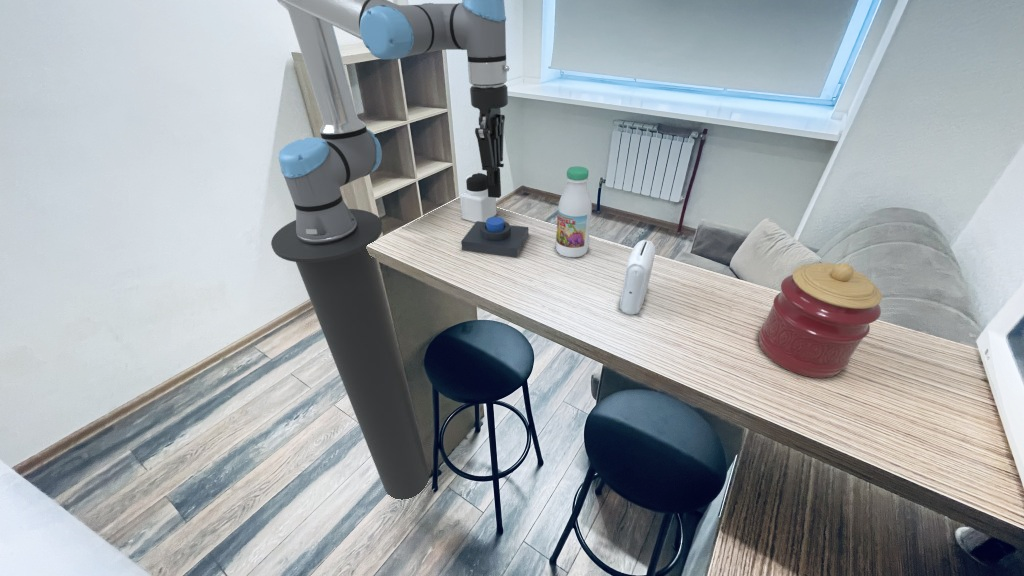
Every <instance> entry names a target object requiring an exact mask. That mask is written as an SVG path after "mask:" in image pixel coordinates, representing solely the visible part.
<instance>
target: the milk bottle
mask: <svg viewBox="0 0 1024 576" xmlns="http://www.w3.org/2000/svg"><path fill="white" fill-rule="evenodd" d="M588 180H589V169H588V168H586V167H584V166H570V167H569V168H567V170H566V181H567V182H566V186H565V187H564V190H563V192H562V194H561V196H560V198H559V201H558V206H557V215H556V216H557V219H556V233H555V249H556V252H557V253H558V254H559V255H561V256H564V257H566V258H580V257H582V256H585V255H586V253H587V252H588V251H589V245H590V244H589V242H590V232H591V222H592V211H593V205H592V199H591V195H590V193H589V189H588V185H587V182H588Z"/></svg>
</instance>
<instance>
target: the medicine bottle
mask: <svg viewBox="0 0 1024 576" xmlns="http://www.w3.org/2000/svg"><path fill="white" fill-rule="evenodd" d="M464 181H465V189H466V191H465V192H463V193H461V194H460V195H459V200H460V201H459V202H460V209H461V218H462V220H465V221H469V222H472V223H476V222H477V221H480V222H486V220H487V219H488V218H490V217H496V216H497V213H498V212H497V198H494V197H488V186H487V174H485V173H482V172H473V173H470V174H467V176H466V177H465V180H464Z"/></svg>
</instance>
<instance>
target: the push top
mask: <svg viewBox="0 0 1024 576" xmlns="http://www.w3.org/2000/svg"><path fill="white" fill-rule="evenodd" d="M504 221H505V220H504V218H503V217H501V216H494V217H490V218H488V219H487V220H486V229H487V230H488V231H492V232H497V231H501V230H504Z"/></svg>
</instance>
